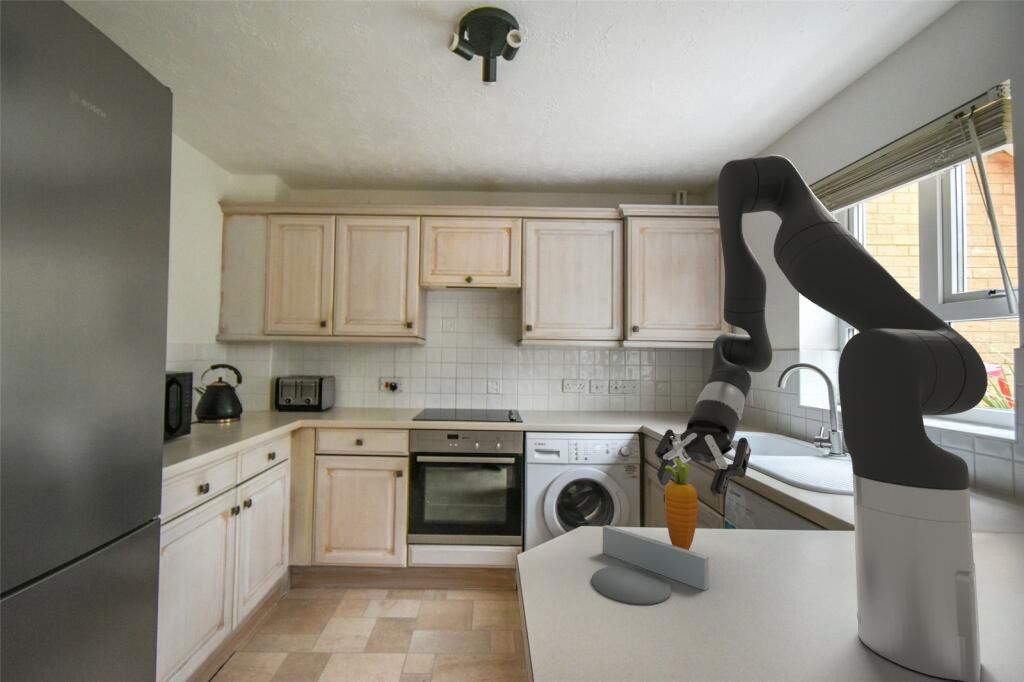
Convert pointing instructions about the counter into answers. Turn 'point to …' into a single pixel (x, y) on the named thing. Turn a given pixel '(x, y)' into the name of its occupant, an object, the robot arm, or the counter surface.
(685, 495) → the carrot
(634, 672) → the counter surface
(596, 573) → the rest mat
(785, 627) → the counter surface
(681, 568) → the low wall
